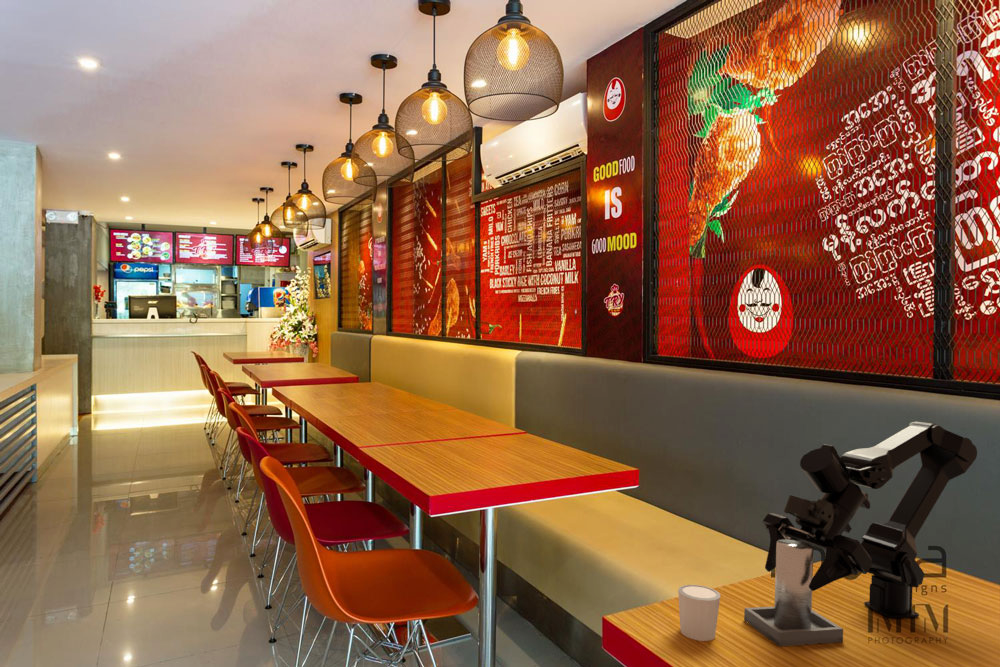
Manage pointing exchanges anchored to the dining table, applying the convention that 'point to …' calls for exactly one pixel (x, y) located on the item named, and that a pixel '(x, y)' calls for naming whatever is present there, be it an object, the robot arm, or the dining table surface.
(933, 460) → the robot arm
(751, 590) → the dining table surface
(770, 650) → the dining table surface
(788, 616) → the silver metal cylinder
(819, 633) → the tray
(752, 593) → the dining table surface
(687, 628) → the white cup
